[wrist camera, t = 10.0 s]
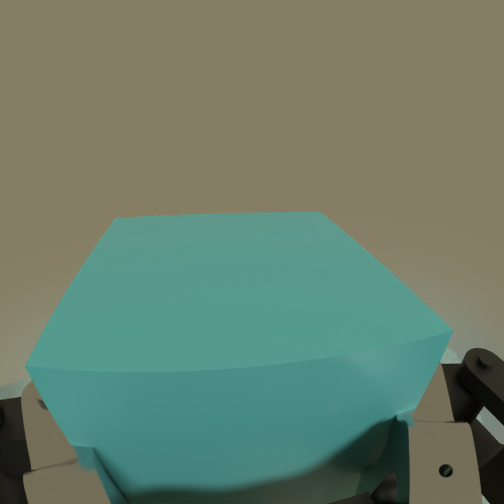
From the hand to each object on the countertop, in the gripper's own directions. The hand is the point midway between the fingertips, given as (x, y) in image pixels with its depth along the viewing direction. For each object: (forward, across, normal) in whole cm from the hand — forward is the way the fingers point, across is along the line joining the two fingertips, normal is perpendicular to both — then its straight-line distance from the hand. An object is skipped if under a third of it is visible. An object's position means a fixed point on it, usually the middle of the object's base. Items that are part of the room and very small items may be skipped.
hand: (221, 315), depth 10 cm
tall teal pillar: (-2, 0, +8) cm, 8 cm away
